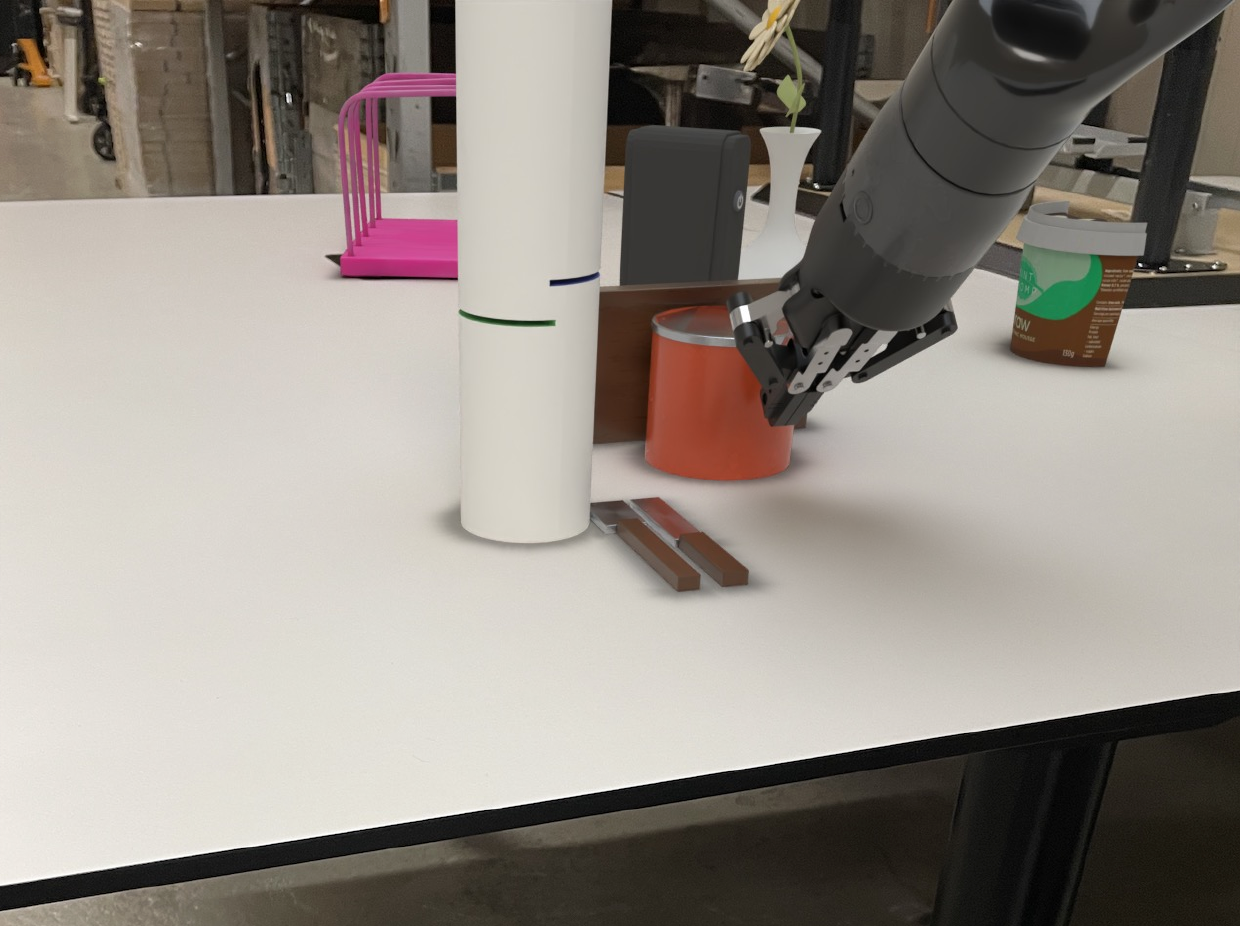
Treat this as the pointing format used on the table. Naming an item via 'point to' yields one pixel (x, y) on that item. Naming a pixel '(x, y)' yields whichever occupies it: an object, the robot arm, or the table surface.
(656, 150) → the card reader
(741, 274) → the flower in vase
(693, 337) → the tin can
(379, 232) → the file sorter
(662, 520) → the cutlery
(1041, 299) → the food container
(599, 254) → the cylindrical container
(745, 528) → the table surface
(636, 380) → the wooden board
